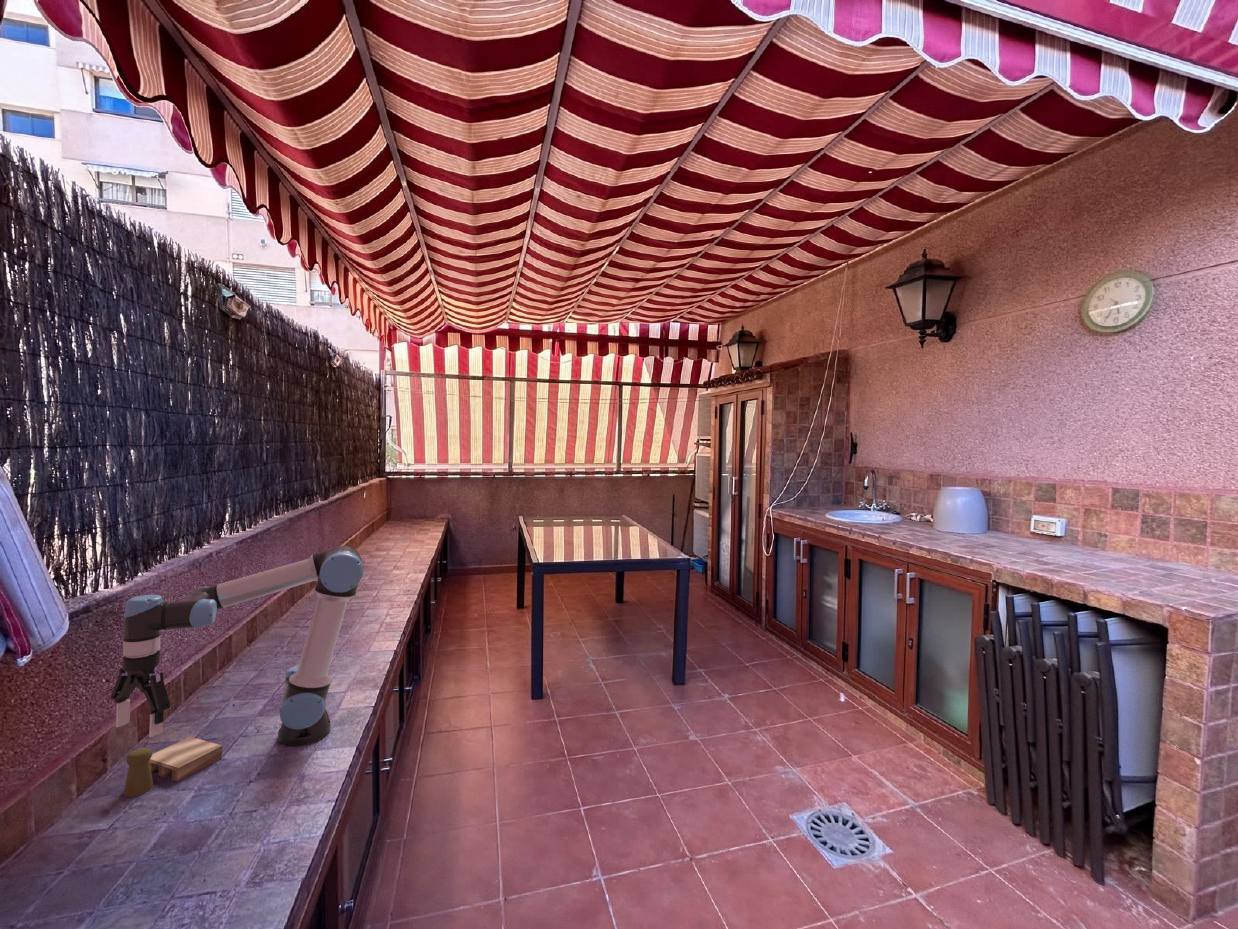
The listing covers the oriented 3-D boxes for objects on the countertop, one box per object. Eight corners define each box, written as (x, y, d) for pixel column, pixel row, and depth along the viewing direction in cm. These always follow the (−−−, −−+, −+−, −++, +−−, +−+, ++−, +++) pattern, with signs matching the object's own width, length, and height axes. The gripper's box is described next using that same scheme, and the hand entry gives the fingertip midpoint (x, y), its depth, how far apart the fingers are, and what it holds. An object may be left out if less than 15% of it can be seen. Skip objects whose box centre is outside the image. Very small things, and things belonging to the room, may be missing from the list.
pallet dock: (222, 758, 157) (222, 745, 157) (178, 782, 145) (178, 768, 145) (190, 749, 161) (190, 736, 161) (144, 771, 149) (145, 757, 149)
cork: (151, 780, 146) (152, 741, 145) (155, 789, 142) (156, 750, 142) (121, 790, 141) (122, 750, 141) (125, 800, 137) (126, 759, 137)
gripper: (188, 655, 141) (185, 732, 141) (128, 641, 148) (125, 714, 148) (157, 665, 134) (154, 746, 134) (95, 650, 141) (92, 727, 141)
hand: (139, 730), depth 141 cm, fingers open, 13 cm apart
